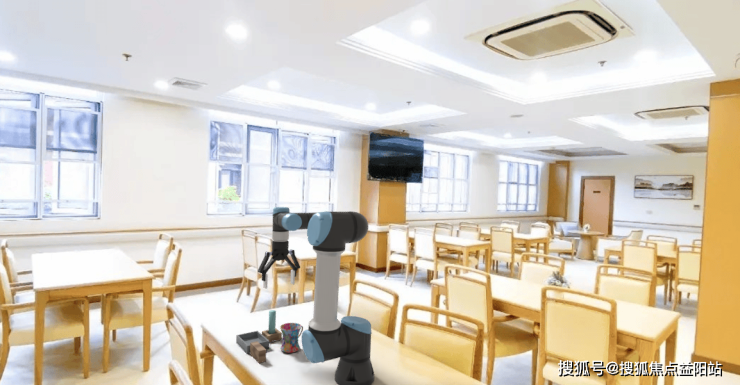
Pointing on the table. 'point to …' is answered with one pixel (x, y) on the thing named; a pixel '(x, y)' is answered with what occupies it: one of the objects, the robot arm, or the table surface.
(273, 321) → the dowel
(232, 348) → the table surface
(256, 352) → the block
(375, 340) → the table surface
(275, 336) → the socket
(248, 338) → the tray
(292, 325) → the mug
